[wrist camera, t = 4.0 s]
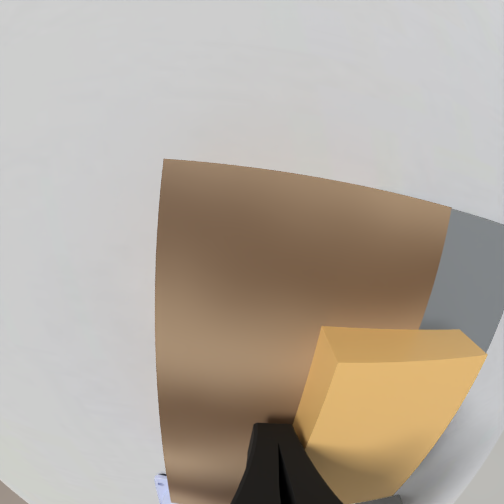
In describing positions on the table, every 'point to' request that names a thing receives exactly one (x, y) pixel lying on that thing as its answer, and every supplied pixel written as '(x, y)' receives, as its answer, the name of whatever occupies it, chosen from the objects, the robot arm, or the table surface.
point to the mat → (469, 280)
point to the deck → (268, 300)
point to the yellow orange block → (381, 404)
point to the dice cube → (385, 500)
